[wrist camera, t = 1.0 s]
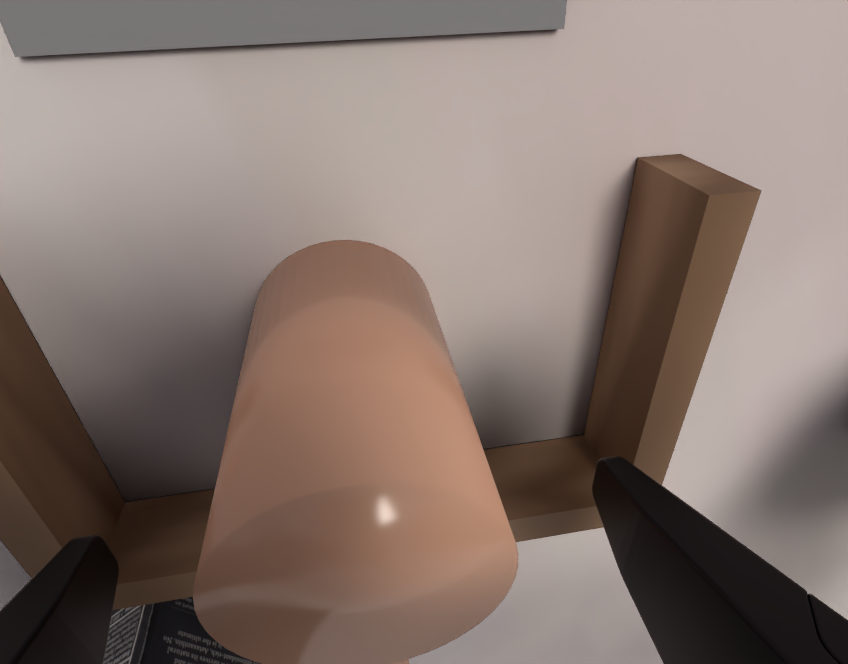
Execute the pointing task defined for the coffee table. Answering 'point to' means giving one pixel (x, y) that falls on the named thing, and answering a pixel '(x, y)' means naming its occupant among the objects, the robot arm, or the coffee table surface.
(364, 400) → the popsicle on stick
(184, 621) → the small box
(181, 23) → the mat
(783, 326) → the coffee table surface
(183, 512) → the holder
